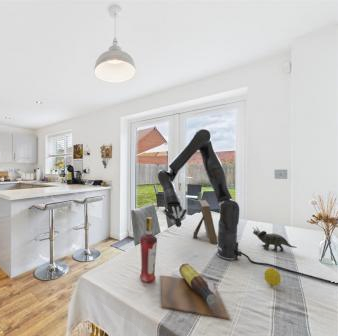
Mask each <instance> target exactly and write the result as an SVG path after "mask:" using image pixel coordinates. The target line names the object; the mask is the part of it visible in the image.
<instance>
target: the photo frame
mask: <svg viewBox="0 0 338 336" xmlns="http://www.w3.org/2000/svg"><path fill="white" fill-rule="evenodd" d="M199 206H200V210H201V215H202V217H201V219H200V221H199V222H198V224H197V226H196V228H195V229H194V231H193V234H192V238H193V239H194V238H197V237H198V234H199V232H200V229H201V227H202V225H203V224H204V228H205V233H206V236H207V238H208V241H209V243H210V244H218V236H217V234H216V229H215V224H214V220H213V216H212V211H211V207H210V204H209V203H208V201H207V200H206V199H202V200H199Z"/></svg>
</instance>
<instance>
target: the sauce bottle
mask: <svg viewBox="0 0 338 336" xmlns="http://www.w3.org/2000/svg"><path fill="white" fill-rule="evenodd" d="M178 270H179V273H180V276H181V278H183V279H185V281H186V282H187V283H188V284H189V286H190V287H191V288H192V289H193V291H194V292H196V293H198V294H199V295H201V296H203V298H204V299H205V301H206V302H207V303H208V304H210V305H212V304H214V303H215V302H216V300H217V298H216V295H215V294H214V293H213V292H211V291H210V289H209V288H208V284H207V282H208V281H206V279H204V277H202V275H201V274H199V272H198V271H197V270H196V269H195V268H194V267H193V266H192V265H190V264H189V263H183V264H181V265H180V266H179V269H178Z"/></svg>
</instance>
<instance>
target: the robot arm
mask: <svg viewBox="0 0 338 336" xmlns="http://www.w3.org/2000/svg"><path fill="white" fill-rule="evenodd" d="M198 151H199V153H200V156H201V160H202V164H203V168H204V171H205V174H206V177H207V179H208V181H209V184H210V185H211V188H212V190H213V192H214V195H215V198H216V202H217V206H218V209H219V220H218V224H217V225H218V226H217V227H218V228H217V242H218V243H217V245H216V249H217V252H216V255H217V256H218V257H219V258H221V259H224V260H226V261H235V260H236V261H237V260H238V258H239V257H242V255H243V256H244V257H245V258H247V260H248V261H249V262H250V263H251V264H255V265H262V266H269V267H271V268H277V269H279V270H283V271H287V272H289V273H293V274H297V275H300V276H304V277H307V278H310V279H314V280H318V281H322V282H325V283H329V284H333V285H337V286H338V282H337V283H335V282H336V281H333V282H331V281H332V280H330V279H329V280H328V279H325V278H321V277H317V276H314V275H311V274H306V273H304V272H300V271H297V270H292V269H288V268H285V267H282V266H279V265H275V264H271V263H269V262H268V263H267V262H257V261H254V260H252V259H251V258H250V257H249V255H247V254H246V253H244V252H242V250H241V249H240V248H239V242H238V225H239V222H240V205H239V203H238V202H237V201H236V200H234V199H233V197H232V195H231V193H230V191H229V188H228V181H227V175H226V172H225V169H224V167H223V164H222V163H221V161H220V159H219V157H218V155H217V153H216V152H215V149H214V146H213V143H212V134H211V132H210V131H209V130H208V129H205V128H202V129H198V130H197V131H196V132H195V133H194V135H193V136H192V138H191V139H190V141H189V142H188V144H187V145H186V146H185V147H184V148H183V149H182V150H181V152H180V153H178V155H177V156H175V158H174V159H173V160H172V161H171V162H170V163H169V165H168V168H169V169H170V170H169V171H168V170H167V169H160V170H159V171H158V173H157V180H158V182H159V185H160V186H161V188H162V192H163V197H164V201H165V206H166V208H165V209H164V210H163V212H162V213H163V214H164V215H165V216H166V217H167V218H168V219H169V220H173V221H174V225H175V226H176V227H177V228H180V227H181V226H182V221H181V220H183V218H184V216H185V215H186V213H187V211H188V210H187V209H184V208H183V206H182V205H181V202H180V199H179V196H178V193H177V189H176V187H175V185H174V183H173V182H174V181H175V179H176V177H177V175H178V174H179V172H180V171H181V169H183V168H184V166H186V164H187V163H188V162H189V161H190V159H191V158H192V157H193V156H194V155H195V154H196V153H197V152H198Z"/></svg>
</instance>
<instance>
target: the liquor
mask: <svg viewBox="0 0 338 336" xmlns="http://www.w3.org/2000/svg"><path fill="white" fill-rule="evenodd" d="M145 224H146V225H145V234H142V235H141V236H140V238H139V239H140V240H139V241H140V275H139V278H140V279H141V280H142V281H143V282H144V283H147V284H149V283H152V282H154V281H156V275H155V274H156V257H157V247H158V246H157V245H158V238H157V237H156V236H155V235H154V234H153V229H152V228H153V227H152V224H153V217H150V216H146V217H145Z"/></svg>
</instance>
